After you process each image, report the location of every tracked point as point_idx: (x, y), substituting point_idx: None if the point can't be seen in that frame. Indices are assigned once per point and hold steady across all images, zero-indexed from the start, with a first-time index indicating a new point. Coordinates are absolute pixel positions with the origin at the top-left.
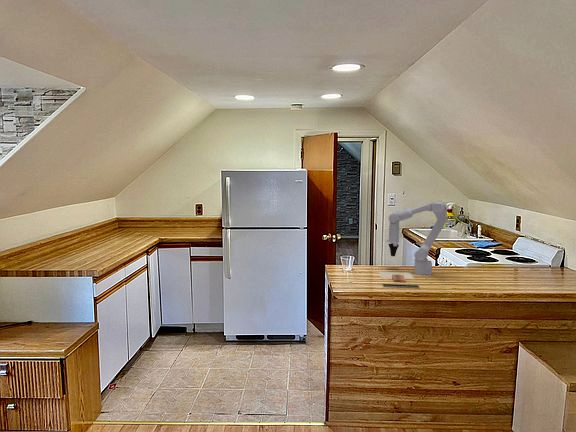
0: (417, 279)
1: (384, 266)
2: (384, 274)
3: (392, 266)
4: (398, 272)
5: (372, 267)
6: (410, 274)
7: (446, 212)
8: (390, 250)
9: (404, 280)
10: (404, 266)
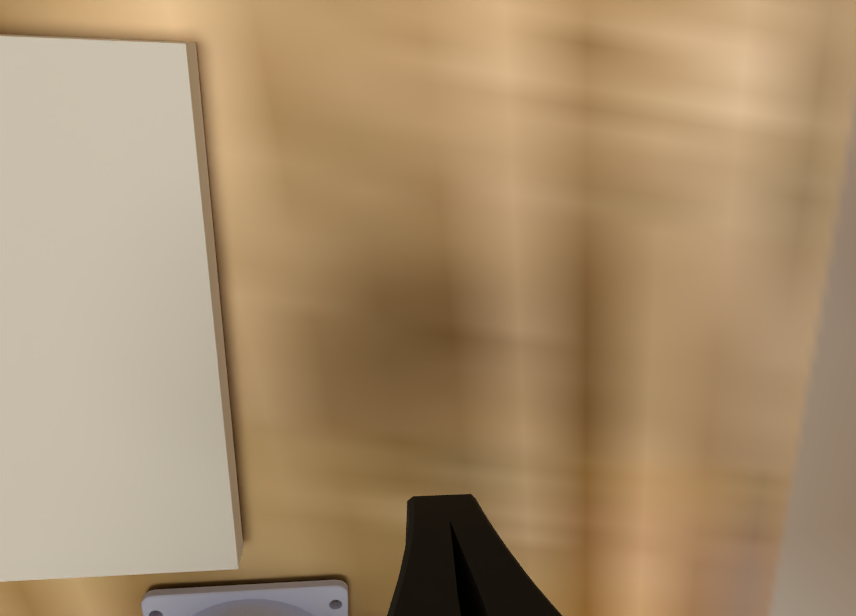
0: (19, 602)
1: (787, 253)
2: None
3: (770, 376)
4: (216, 421)
5: (740, 4)
6: (127, 566)
7: None
8: (456, 609)
9: None
10: (749, 527)
